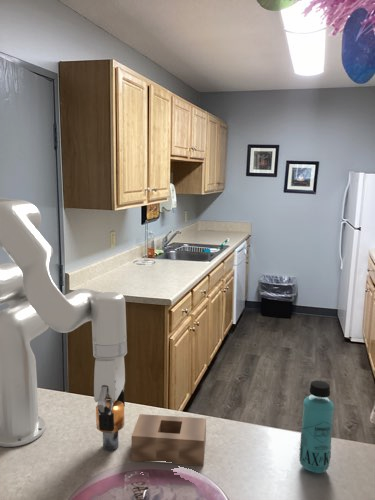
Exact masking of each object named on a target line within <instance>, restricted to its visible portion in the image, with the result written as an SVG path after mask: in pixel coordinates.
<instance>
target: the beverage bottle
mask: <svg viewBox="0 0 375 500" xmlns="http://www.w3.org/2000/svg"><path fill="white" fill-rule="evenodd" d="M330 387H331V386H330V383H328V382H326V381H323V380H313V381H311V382H310V386H309V393H310V395H308V396H306V397H305V398H304V400H303V402H302V403H303V407H302V420H301V421H302V422H301V423H302V424H301V428H300V441H299V463H300V465H301V467H303V469H305V470H307V471H309V472H312V473H317V474H319V473H320V474H321V473H324V472H326V471H327V470H329V467H330V462H331V458H332V457H331V456H332V450H331V449H332V441H333V438H332V435H333V434H332V433H333V427H334V425H333V422H334V421H333V419H334V410H335V405H334V403H333V401H332V400H330V398H329V397H330V396H331V388H330Z"/></svg>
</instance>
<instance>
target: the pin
mask: <svg viewBox="0 0 375 500" xmlns="http://www.w3.org/2000/svg"><path fill="white" fill-rule="evenodd" d="M105 404H106V406H107V407H108V408H109V404H110V403H105ZM112 413H114V430H113V431H101V430H100V429H99V415H98V404H97V405H96V406H95V418H96V420H95V422H96V424H95V425H96V429H97V430H98V431H99V432H101V433H102V450H104V451H106V452H114V451H116V450H117V449H118V448H119V431H120V430H122V429H123V428H124V427H125V406H124V404H123V403H122V402H121V401H118V400H116V401H115V402H114V403H113V409H112Z"/></svg>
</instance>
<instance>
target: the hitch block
mask: <svg viewBox="0 0 375 500" xmlns="http://www.w3.org/2000/svg"><path fill="white" fill-rule="evenodd" d="M206 433H207V418H205V417H191V416H190V417H187V416H173V415H158V414H157V415H156V414H143V413H140V414H139V415H138V418H137V420H136V423H135V426H134V429H133V430H132V433H131V461H134V462H143V461H166V462H172V463H177V464H176V465H184V466H185V465H188V466H201V467H204V465H205V464H204V463H205V453H206V452H205V451H206V441H207V440H206V439H207V437H206V435H207V434H206Z"/></svg>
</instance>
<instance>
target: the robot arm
mask: <svg viewBox="0 0 375 500" xmlns="http://www.w3.org/2000/svg"><path fill="white" fill-rule="evenodd" d="M41 225H42V215H41V212H40V209H39V208H37V206H36V205H34V204H33V203H32V202H30V201H28V200H23V199H16V198H7V197H0V247H1V249H2V250H3V251H4V253H5V254H7V255H8V257H9V258H10V259H11V260H12V262H5V263H1V264H0V306H3V305H4V304H7V305H8V307H6V308H3V309H2V310H0V447H6V448H12V447H13V448H14V447H20V446H23V445H27V444H29V443H32V442H33V441H36V440H37V439H38V438H40V437H41V436H42V435H43V434H44V432H45V430H46V422H45V421H46V420H44V418H42V417H41V416H39V400H38V377H37V374H38V373H37V361H36V355H35V354H34V352H33V349H32V347H31V341H33V340H34V339H35V338H36V337H39V336H40V335H41V334H43V333H44V332H46V331H47V330H48V329H49V328H51V329H52V330H53V331H55V332H57V333H60V334H61V333H64V334H65V333H67V334H68V333H70V332H73V331H74V330H76V329H78V328H79V327H81V326H82V325H84V324H86V323H88V322H91V333H92V335H91V336H92V353H93V354H92V356H93V358H95V361H94V371H93V372H94V373H93V377H94V378H93V401H94V402H95V403H97V405H98V415H99V429H100V430H101V431H113V430H114V413H112V409H113V403H114V402H115V401H116V400H118V401H121V402H122V403H123V404H124V407H125V404H126V402H125V399H126V398H125V391H124V390H125V384H126V368H125V367H126V365H125V356H126V355H127V354H128V342H127V337H128V336H127V315H126V314H127V313H126V298H125V296H124V295H123V294H122V293H121V292H117V291H116V292H115V291H105V292H104V291H103V292H102V291H97V290H92V289H88V288H78V289H75V290H72V291H71V292H69V293H67V294H65V295H64V293H62V292H61V290H60V289H59V288H58V287H57V285H56V284H55V282H54V281H53V279H52V276H51V273H50V268H49V267H50V261H51V258H52V257H53V255H54V249H53V247H52V245H51V244H50V243H49V242H48V241H47V240H46V238H45V237H44V236H43V235H42V233H40V231H39V229H40V227H41ZM108 398H110V399H108ZM105 403H110V404H109V408H108V407H107V406H106V404H105ZM101 431H100V432H101Z"/></svg>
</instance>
